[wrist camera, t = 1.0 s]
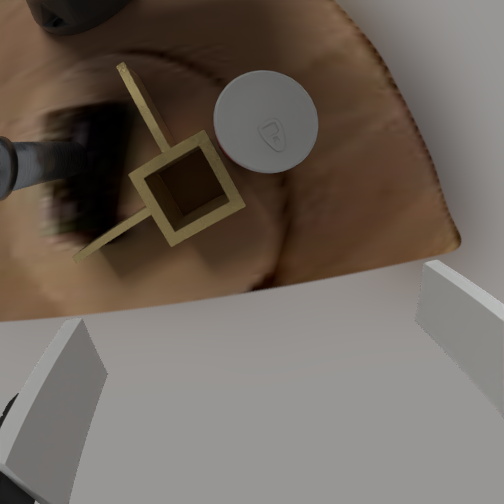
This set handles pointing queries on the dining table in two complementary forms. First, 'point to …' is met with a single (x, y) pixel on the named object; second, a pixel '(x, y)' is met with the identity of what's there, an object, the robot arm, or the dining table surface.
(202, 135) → the hinge
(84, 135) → the dining table surface
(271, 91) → the canned food
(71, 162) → the pin
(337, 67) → the dining table surface
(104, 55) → the dining table surface
